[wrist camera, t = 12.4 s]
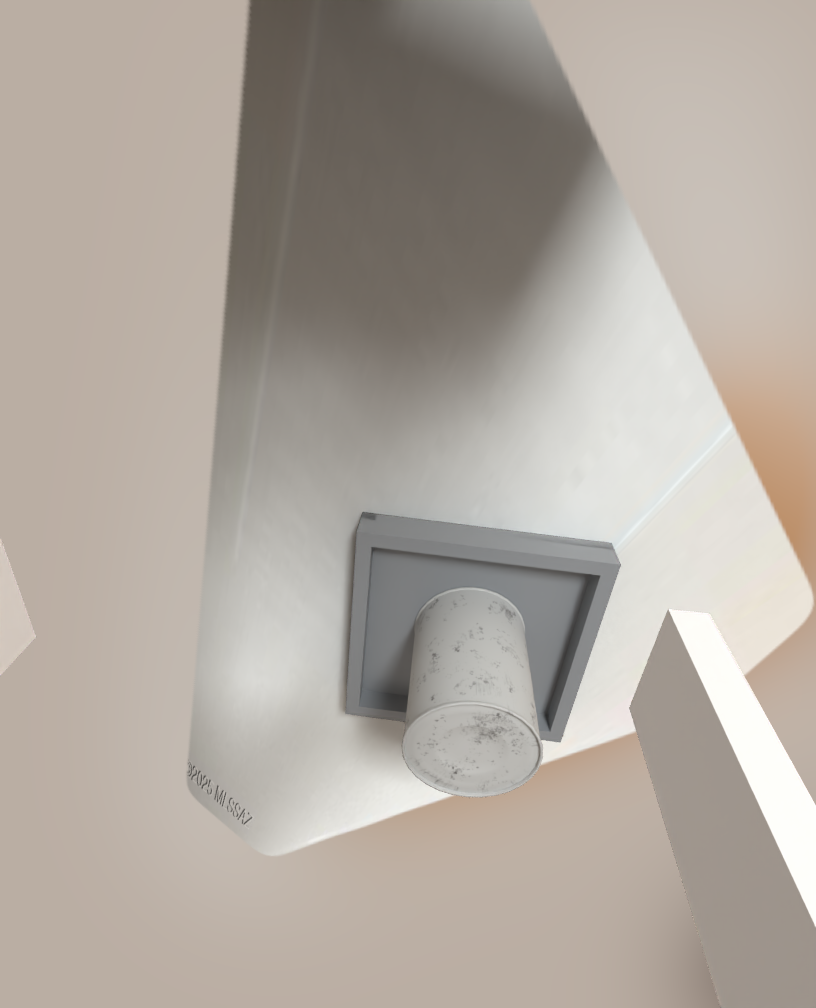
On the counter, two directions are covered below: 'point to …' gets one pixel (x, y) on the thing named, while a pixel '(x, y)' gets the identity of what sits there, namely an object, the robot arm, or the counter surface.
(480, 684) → the speckled white tin can
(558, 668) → the tray
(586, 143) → the counter surface
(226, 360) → the counter surface
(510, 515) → the counter surface
